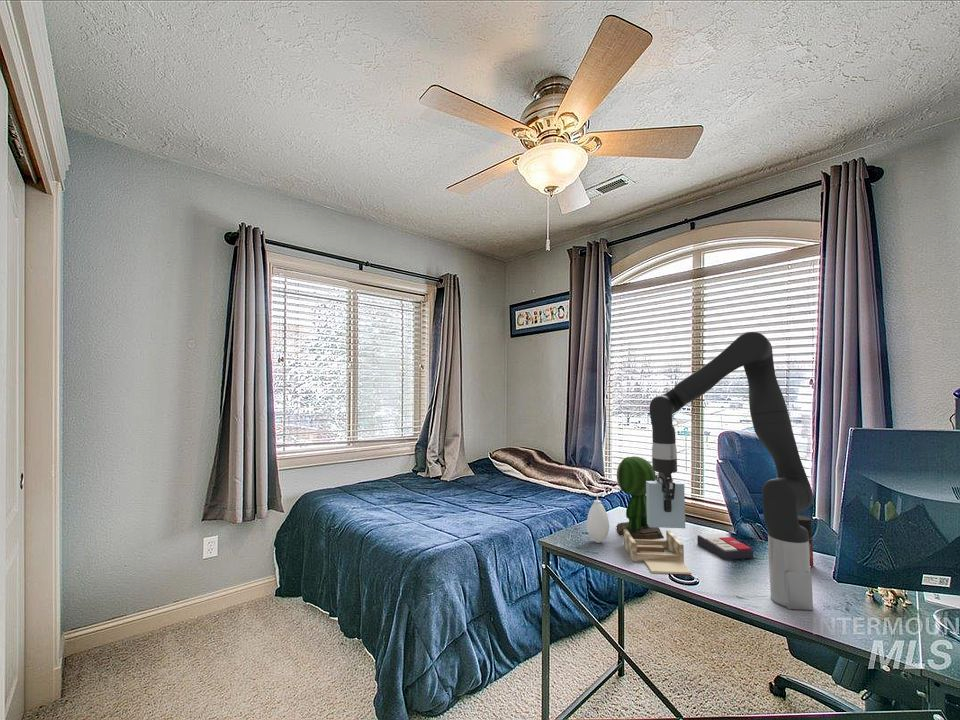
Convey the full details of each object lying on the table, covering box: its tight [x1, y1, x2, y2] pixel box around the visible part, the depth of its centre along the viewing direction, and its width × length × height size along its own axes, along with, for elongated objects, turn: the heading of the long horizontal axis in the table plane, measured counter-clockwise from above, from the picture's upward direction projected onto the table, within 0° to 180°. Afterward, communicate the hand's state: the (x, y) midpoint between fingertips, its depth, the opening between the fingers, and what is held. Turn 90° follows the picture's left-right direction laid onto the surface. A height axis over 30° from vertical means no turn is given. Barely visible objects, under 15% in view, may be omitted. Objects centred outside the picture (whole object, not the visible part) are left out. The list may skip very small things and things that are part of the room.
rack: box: [623, 529, 685, 564], centre depth 156 cm, size 15×16×6 cm
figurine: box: [615, 456, 665, 540], centre depth 179 cm, size 17×20×30 cm
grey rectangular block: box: [645, 481, 686, 529], centre depth 145 cm, size 4×11×14 cm, turn 83°
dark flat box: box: [696, 532, 754, 561], centre depth 158 cm, size 11×4×15 cm
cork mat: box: [643, 560, 692, 575], centre depth 144 cm, size 9×12×1 cm
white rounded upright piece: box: [586, 493, 610, 544], centre depth 168 cm, size 8×8×18 cm
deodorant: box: [797, 514, 814, 567], centre depth 147 cm, size 6×6×15 cm
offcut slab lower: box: [640, 551, 672, 554], centre depth 151 cm, size 3×10×2 cm, turn 83°
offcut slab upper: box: [636, 545, 665, 553], centre depth 155 cm, size 3×9×2 cm
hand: (665, 509), depth 145 cm, fingers closed on grey rectangular block, 3 cm apart
